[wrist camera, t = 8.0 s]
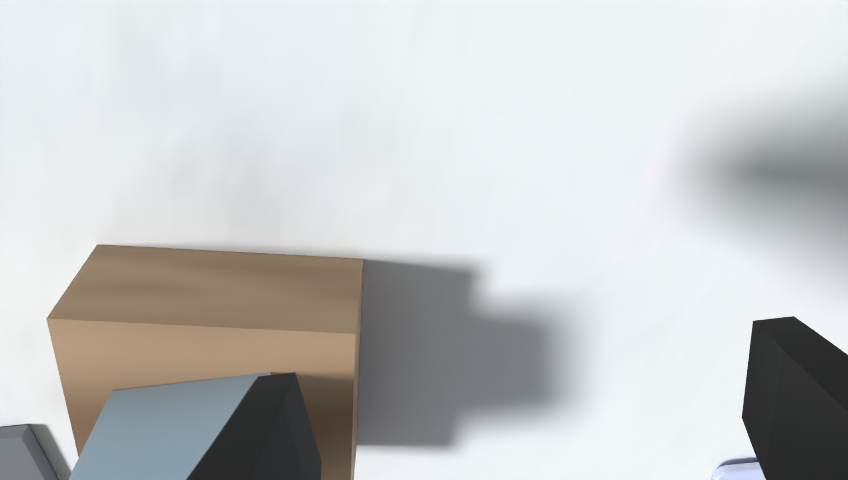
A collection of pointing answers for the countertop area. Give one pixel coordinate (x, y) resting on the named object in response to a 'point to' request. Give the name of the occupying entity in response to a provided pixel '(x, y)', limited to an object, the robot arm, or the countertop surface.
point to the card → (22, 455)
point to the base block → (214, 331)
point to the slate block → (159, 429)
